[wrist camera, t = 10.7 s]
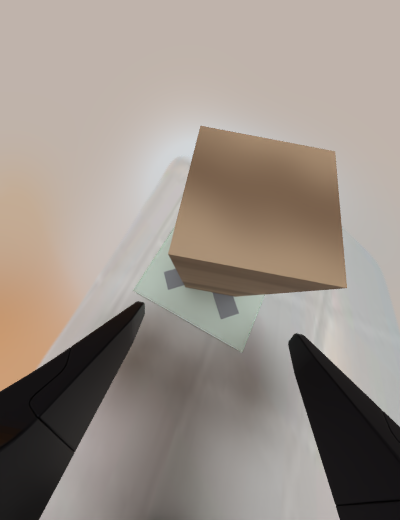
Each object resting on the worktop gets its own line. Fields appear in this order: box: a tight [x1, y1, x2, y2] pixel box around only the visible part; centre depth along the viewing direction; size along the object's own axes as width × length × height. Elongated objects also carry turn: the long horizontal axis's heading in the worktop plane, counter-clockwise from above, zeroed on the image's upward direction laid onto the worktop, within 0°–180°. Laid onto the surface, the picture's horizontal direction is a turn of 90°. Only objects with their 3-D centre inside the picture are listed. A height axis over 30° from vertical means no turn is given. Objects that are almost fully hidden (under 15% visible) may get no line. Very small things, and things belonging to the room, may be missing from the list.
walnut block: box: [168, 126, 347, 297], centre depth 12 cm, size 6×6×13 cm
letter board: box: [133, 227, 265, 353], centre depth 19 cm, size 14×14×1 cm
